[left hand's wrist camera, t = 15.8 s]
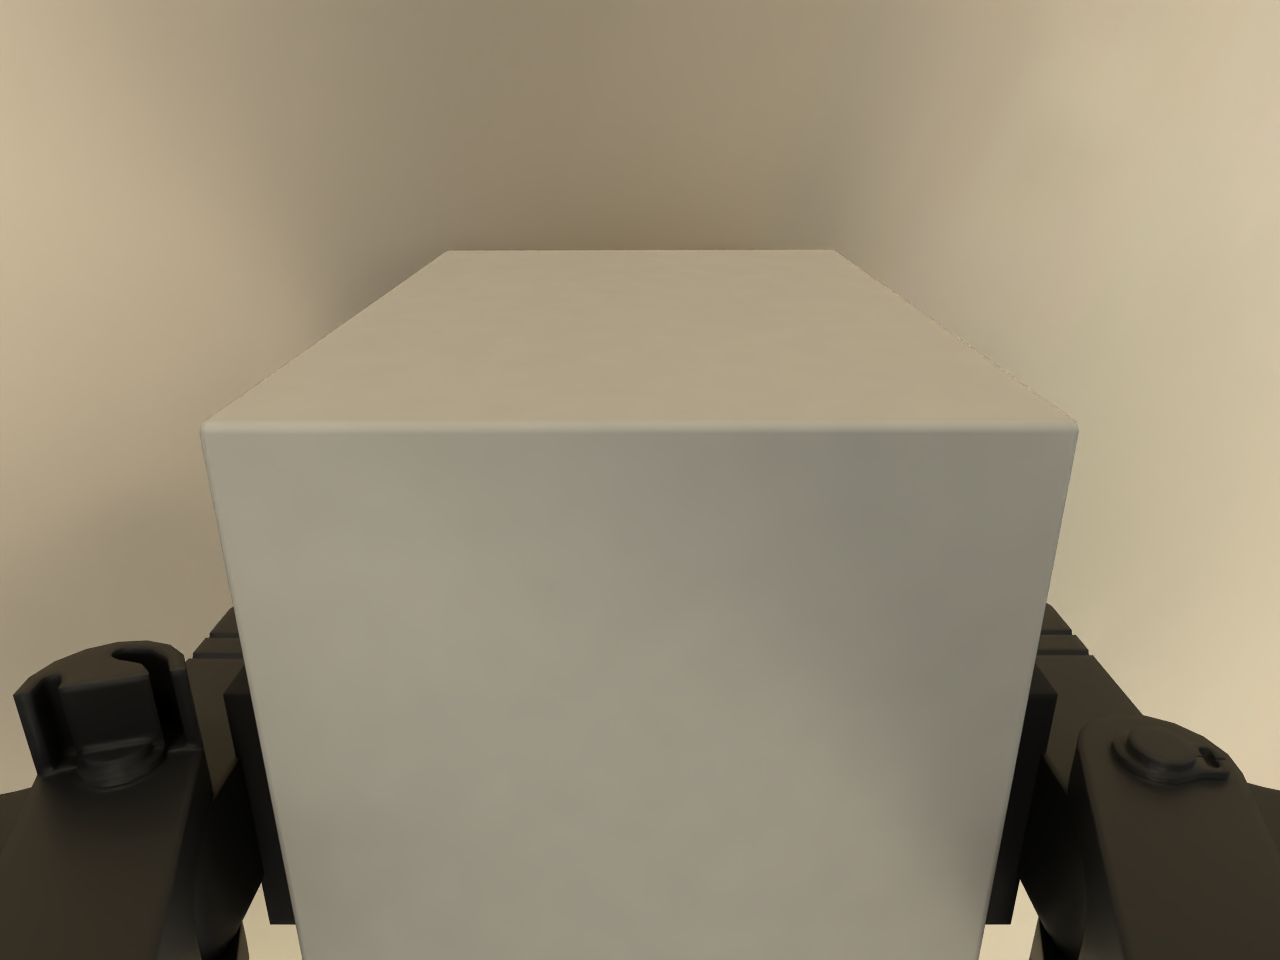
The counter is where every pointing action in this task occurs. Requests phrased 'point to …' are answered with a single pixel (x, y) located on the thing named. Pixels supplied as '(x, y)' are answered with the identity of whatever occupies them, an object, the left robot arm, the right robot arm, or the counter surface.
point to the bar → (639, 610)
